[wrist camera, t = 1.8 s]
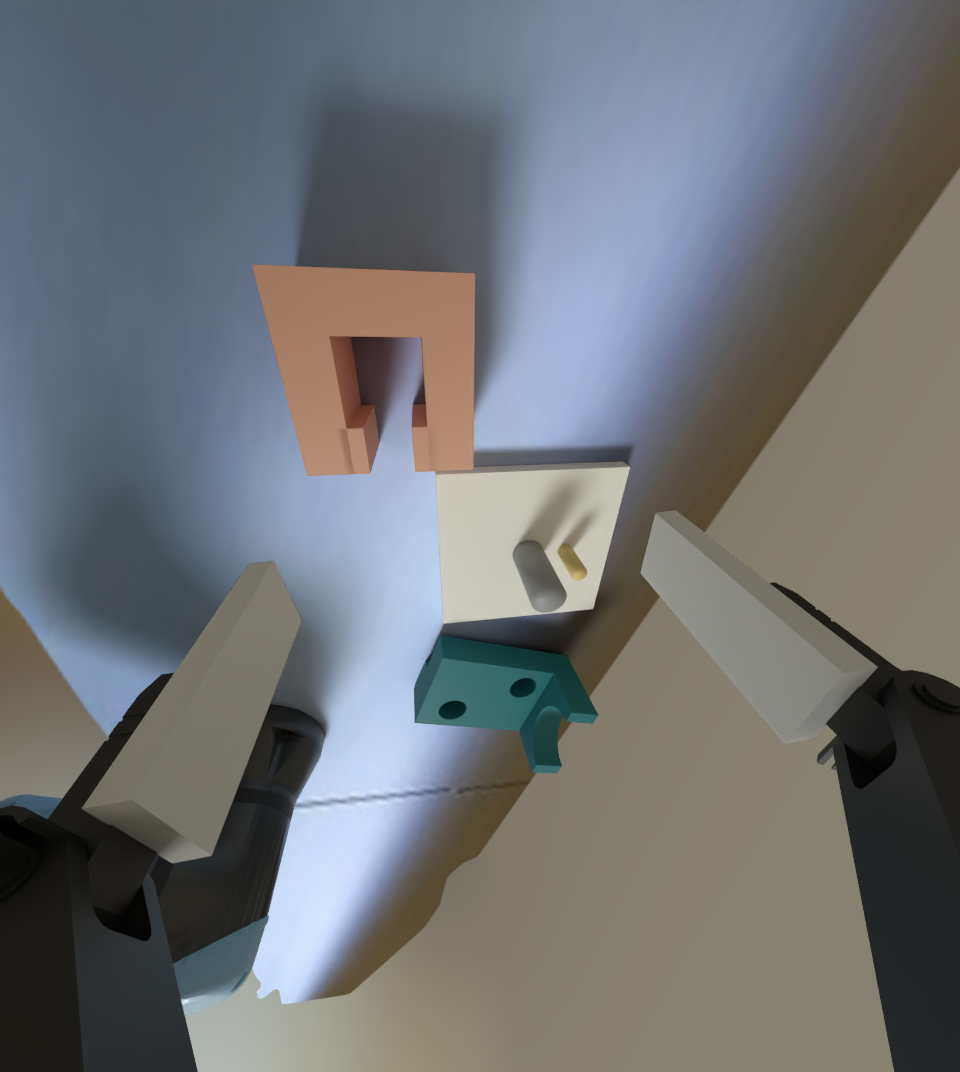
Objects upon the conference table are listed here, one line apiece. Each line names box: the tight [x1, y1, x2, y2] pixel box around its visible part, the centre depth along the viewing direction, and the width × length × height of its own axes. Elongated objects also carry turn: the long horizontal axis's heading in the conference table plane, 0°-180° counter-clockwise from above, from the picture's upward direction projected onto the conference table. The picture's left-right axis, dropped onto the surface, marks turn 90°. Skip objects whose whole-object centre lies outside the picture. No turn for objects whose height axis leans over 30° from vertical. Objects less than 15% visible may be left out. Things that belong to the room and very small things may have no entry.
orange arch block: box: [252, 265, 475, 476], centre depth 24 cm, size 11×11×7 cm
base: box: [435, 461, 630, 624], centre depth 34 cm, size 18×18×8 cm
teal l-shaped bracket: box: [414, 635, 598, 773], centre depth 43 cm, size 18×11×10 cm, turn 68°
